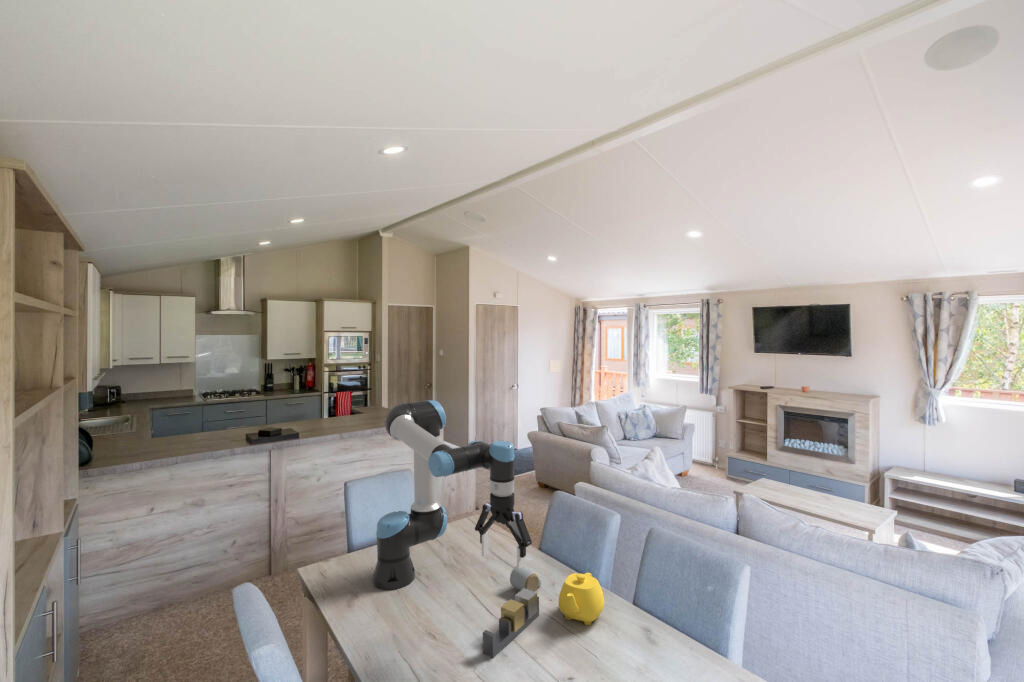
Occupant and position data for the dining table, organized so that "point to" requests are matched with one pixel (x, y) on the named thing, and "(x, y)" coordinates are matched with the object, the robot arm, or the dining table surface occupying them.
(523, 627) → the rack rail
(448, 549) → the dining table surface
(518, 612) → the unfinished wooden cube
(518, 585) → the ceramic mug
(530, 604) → the plain grey cube
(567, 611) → the teapot
